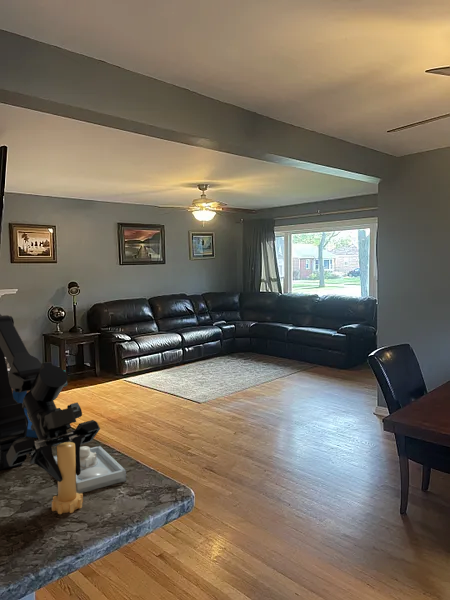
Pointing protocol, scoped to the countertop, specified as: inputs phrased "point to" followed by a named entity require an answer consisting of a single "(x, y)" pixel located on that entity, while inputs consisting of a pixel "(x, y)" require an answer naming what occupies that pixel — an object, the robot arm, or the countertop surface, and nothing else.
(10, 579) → the countertop surface
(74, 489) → the tan gear peg
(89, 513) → the countertop surface
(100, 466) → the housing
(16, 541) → the countertop surface
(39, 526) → the countertop surface
